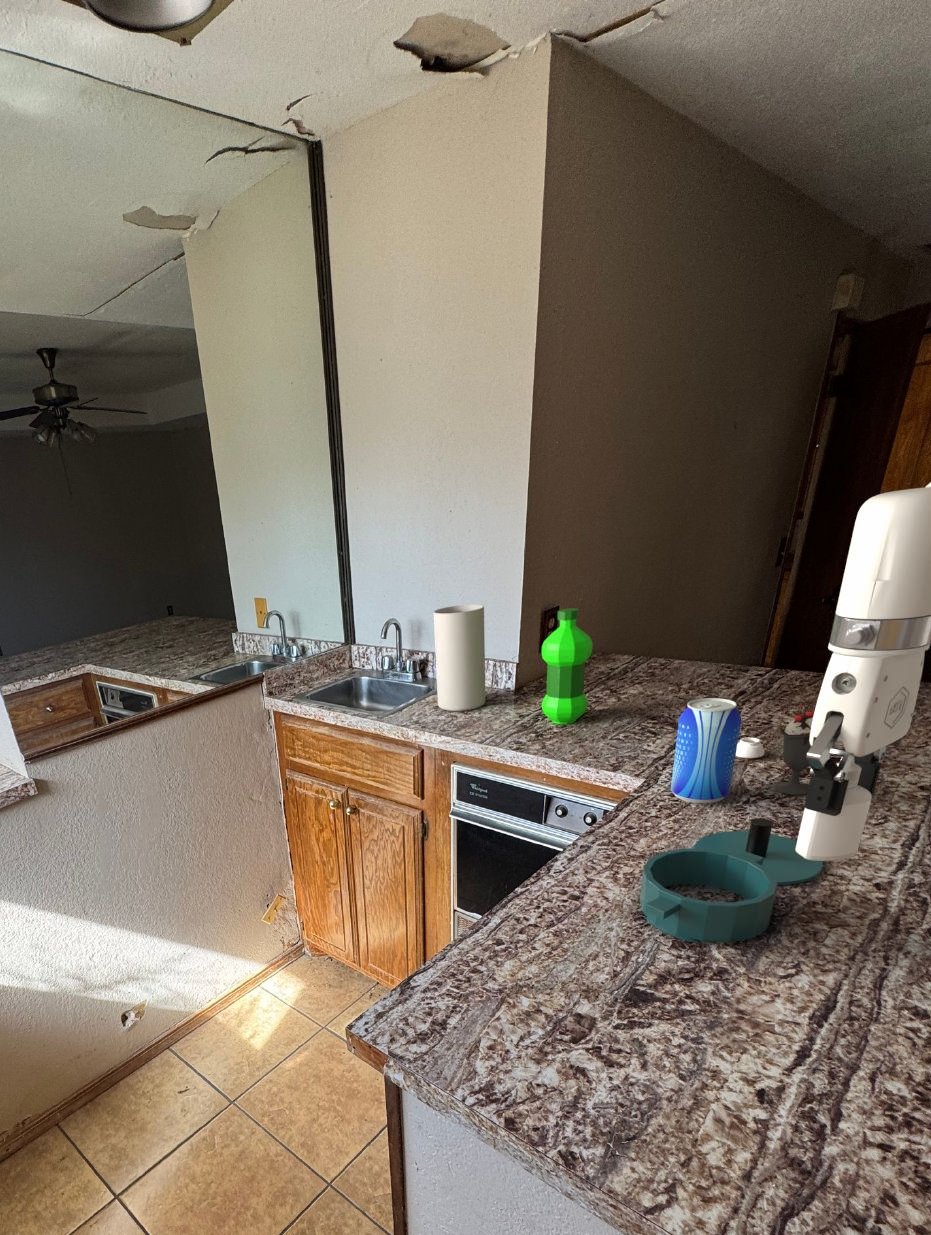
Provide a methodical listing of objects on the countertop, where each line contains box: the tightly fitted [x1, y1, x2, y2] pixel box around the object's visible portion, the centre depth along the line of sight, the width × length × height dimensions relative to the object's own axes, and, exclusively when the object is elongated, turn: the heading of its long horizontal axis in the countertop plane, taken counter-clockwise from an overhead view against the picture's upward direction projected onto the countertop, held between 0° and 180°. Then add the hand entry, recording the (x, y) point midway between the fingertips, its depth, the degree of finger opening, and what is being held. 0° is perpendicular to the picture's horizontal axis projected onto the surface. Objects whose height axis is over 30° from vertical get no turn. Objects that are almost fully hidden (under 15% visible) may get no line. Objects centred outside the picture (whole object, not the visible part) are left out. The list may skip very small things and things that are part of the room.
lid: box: [693, 817, 824, 886], centre depth 87 cm, size 15×15×6 cm
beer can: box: [670, 697, 742, 804], centre depth 104 cm, size 8×8×16 cm
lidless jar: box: [735, 736, 765, 759], centre depth 120 cm, size 5×3×5 cm
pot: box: [639, 848, 778, 945], centre depth 79 cm, size 14×19×6 cm
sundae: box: [773, 701, 815, 796], centre depth 103 cm, size 7×7×15 cm
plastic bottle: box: [541, 607, 594, 725], centre depth 146 cm, size 10×10×25 cm
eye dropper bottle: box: [796, 757, 873, 862], centre depth 70 cm, size 4×6×12 cm
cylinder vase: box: [433, 603, 486, 712], centre depth 169 cm, size 12×12×25 cm
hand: (838, 801), depth 70 cm, fingers closed on eye dropper bottle, 5 cm apart
